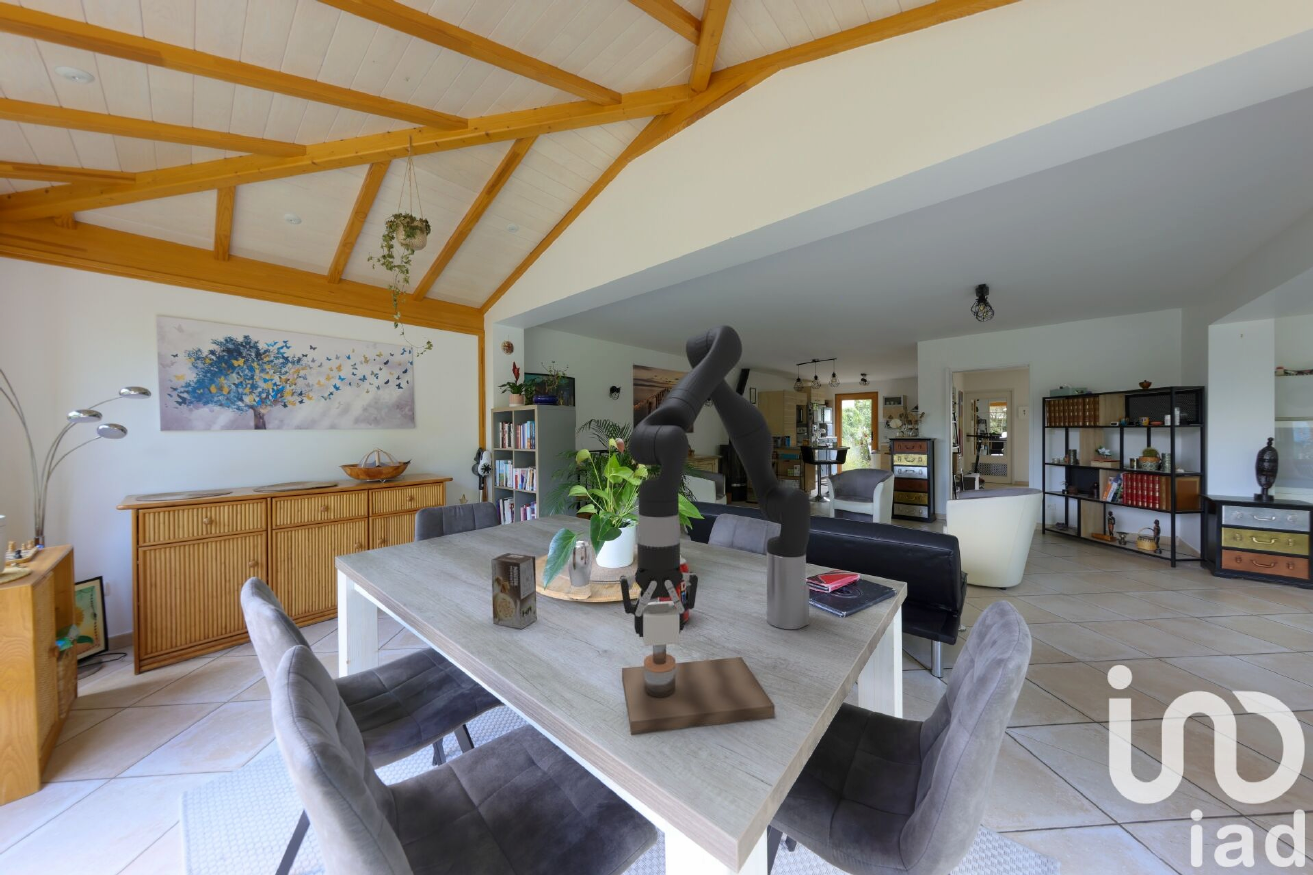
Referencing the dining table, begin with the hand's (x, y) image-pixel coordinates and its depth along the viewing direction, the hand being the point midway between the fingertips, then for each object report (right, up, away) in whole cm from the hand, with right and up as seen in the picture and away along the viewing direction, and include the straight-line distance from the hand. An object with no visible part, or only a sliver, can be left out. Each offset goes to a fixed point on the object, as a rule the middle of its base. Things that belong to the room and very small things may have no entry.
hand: (659, 633), depth 81 cm
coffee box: (-36, -11, +33) cm, 50 cm away
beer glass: (-22, -11, +49) cm, 55 cm away
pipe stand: (+6, -12, +1) cm, 13 cm away
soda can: (+4, -11, +33) cm, 35 cm away
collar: (0, -1, 0) cm, 1 cm away
